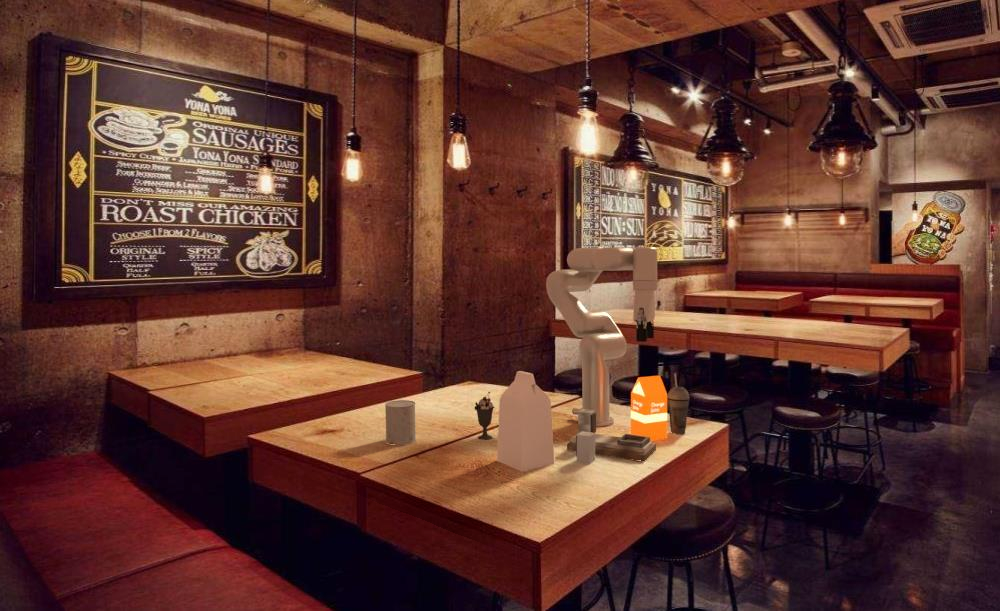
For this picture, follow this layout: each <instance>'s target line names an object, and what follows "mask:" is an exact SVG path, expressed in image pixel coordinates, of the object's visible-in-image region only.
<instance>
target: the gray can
mask: <svg viewBox="0 0 1000 611" xmlns="http://www.w3.org/2000/svg"><path fill="white" fill-rule="evenodd" d="M384 407H385V438H386V439H385V443H386V442H387V443H389V444H395V445H394V446H396V445H400V446H405V445H404V444H409V445H411V444H410V443H412V444H414V443H416V442H417V439H416V402H415V401H413V400H406V399H405V400H404V399H402V400H401V399H400V400H391V401H388V402H386V403H385V404H384ZM413 442H414V443H413ZM387 443H386V444H387ZM389 444H388V445H389Z"/></svg>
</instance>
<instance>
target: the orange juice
mask: <svg viewBox="0 0 1000 611" xmlns="http://www.w3.org/2000/svg"><path fill="white" fill-rule="evenodd" d="M667 397H668V393H667V390H666V387H665V385H664V382H663V379H662V378H661V375H650V376H640V377H637V379H636V382H635V384H634V386H633V388H632V390H631V392H630V434H631V435H639V436H646V437H650V441H651V440H655V441H658V440H657V439H662V440H665V439H664V438H668V435H667V434H668V399H667ZM651 442H652V441H651Z"/></svg>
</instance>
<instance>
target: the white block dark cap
mask: <svg viewBox="0 0 1000 611" xmlns="http://www.w3.org/2000/svg"><path fill="white" fill-rule="evenodd" d="M595 434H596V432H595V433H591V432H584V431H582V432H580V433H579V434H578V433H577V434H576V435H577V436H576V451H575V457H576V462H577V463H581V464H587V465H591V464H592V463H593V462H595V461H596V454H595Z"/></svg>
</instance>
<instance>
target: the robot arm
mask: <svg viewBox="0 0 1000 611" xmlns="http://www.w3.org/2000/svg"><path fill="white" fill-rule="evenodd" d="M566 262H567V266H568V267H569V268H570V269H558V270H555V271H552V272H551V273H549V274H548V276H547V278H546V282H545V287H546V288H545V289H546V293H547V296H548V298H549V300H550V301H551V303H552V304H553V305H554V307H555V308H556V309H557V310H558V312H559V313H560V314H561V316H562V318H563V320H564V321H565V323H566V324H567V326H568V327H569V329H570V332H572V334H573V335H574V336H575V337H577V338H582V339H581V340H580V342H579V346H578V347H579V349H578V350H579V355H580V359H581V371H582V372H581V373H582V374H581V377H582V378H581V379H582V380H581V381H582V382H581V383H582V384H581V385H582V387H581V388H582V389H581V390H582V396H581V398H582V399H581V400H582V407H581V408H578V407H577V408H576V407H572V409H571V413H572V414H573V415H575V416H576V415H577V416H578V412H579V411H580V410H582V409H587V410H595V413H596V427H608V426H611V425H613V424H614V422H615V419H614V418H613V417H612V416H610V371H609V367H608V366H607V364H606V360H614V359H620V358H622V357H623V356H625V354H626V352H627V350H628V343H627V340H626V338H625V336H624V335H623V333H622V331H621V330H620V328H619V326H618V325H617V324H616V323H615V321H614V320H613V318H612V316H611V315H609V313H607V312H605V311H603V310H588V309H587V308H586V307H585V306H584V305H583V303H582V301H581V300H580V299H579V298H577V297H576V296H574V295H573V294H572V293H579V292H580V293H581V292H585V291H588V290H590V289H591V287H592V286H593V285H594V283H595V282H596V281H597V279H598V277H600V275H601V274H602V272H603V271H610V272H612V271H614V272H615V271H616V272H617V271H632V290H633V292H634V295H633V296H634V299H633V317H632V318H633V322H634V323H636V326H635V330H636V331H635V333H636V334H635V335H636V338H635V339H636V342H643V343H644V342H645V343H647V341H648V339H654V338H655V322H654V320H655V316H656V304H655V303H656V301H655V300H656V298H655V291H658V250H657V248H656V247H653V246H641V247H635V246H634V247H633V246H632V247H628V246H622V247H619V246H618V247H616V246H613V247H602V246H597V247H593V246H592V247H579V248H578V247H577V248H575V249H572V250H571V251H570V252H569V253H568V255H567V258H566Z"/></svg>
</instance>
